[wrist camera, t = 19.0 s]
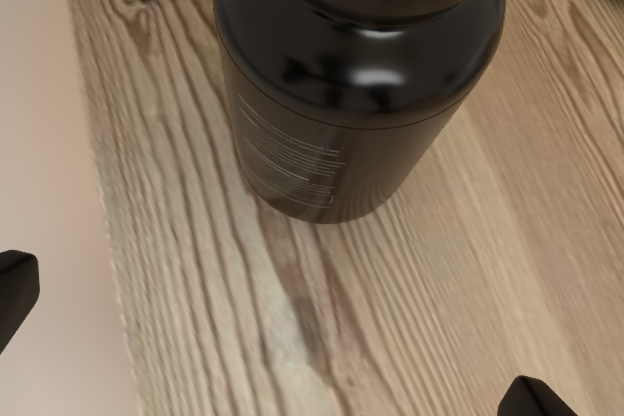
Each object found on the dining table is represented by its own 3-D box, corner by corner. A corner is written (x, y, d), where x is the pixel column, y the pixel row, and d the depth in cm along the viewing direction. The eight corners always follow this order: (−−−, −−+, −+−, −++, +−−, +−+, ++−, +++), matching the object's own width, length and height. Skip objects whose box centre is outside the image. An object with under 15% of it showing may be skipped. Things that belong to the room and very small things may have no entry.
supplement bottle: (437, 183, 18) (716, -97, 7) (284, 258, 17) (312, 64, 5) (354, 49, 20) (468, -362, 8) (208, 108, 18) (103, -291, 7)
